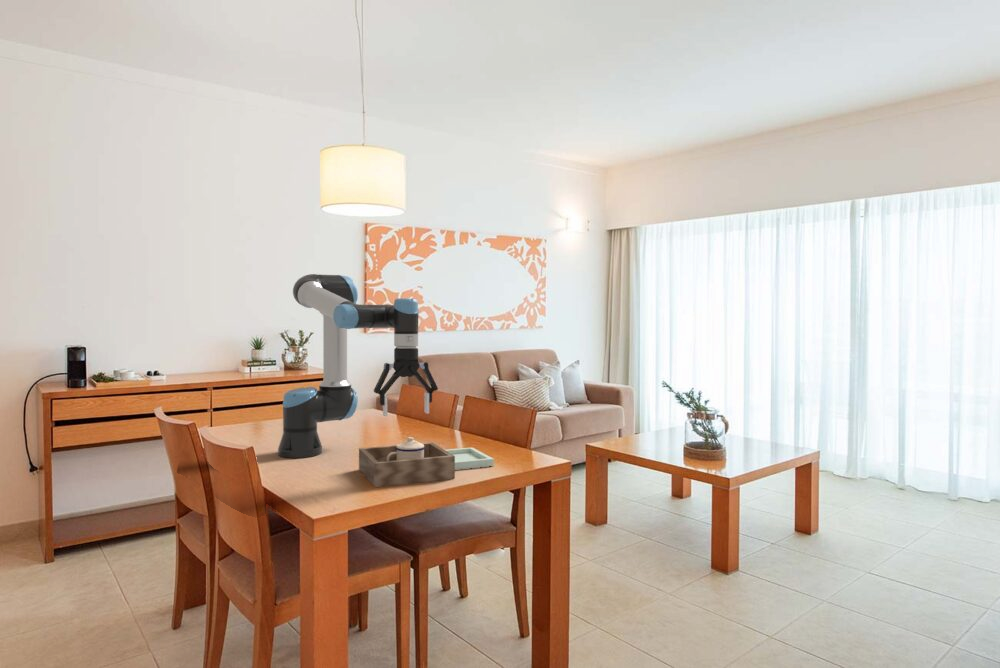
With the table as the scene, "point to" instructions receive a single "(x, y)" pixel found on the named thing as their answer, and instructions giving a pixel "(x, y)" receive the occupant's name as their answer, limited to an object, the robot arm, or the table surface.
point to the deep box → (405, 466)
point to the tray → (470, 458)
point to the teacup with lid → (408, 450)
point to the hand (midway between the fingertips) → (406, 414)
